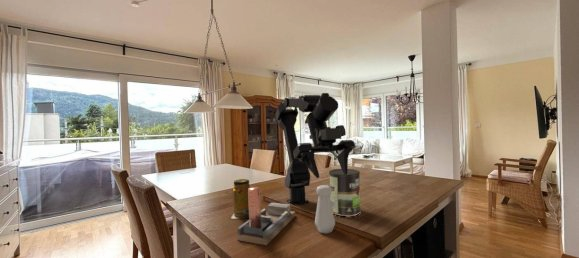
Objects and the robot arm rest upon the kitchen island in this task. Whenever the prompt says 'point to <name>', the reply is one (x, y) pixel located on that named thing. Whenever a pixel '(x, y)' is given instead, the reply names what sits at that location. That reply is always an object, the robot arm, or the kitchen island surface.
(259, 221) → the slider
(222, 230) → the kitchen island surface
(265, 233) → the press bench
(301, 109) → the robot arm
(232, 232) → the kitchen island surface
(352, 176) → the coffee can
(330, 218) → the salt shaker
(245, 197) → the condiment
